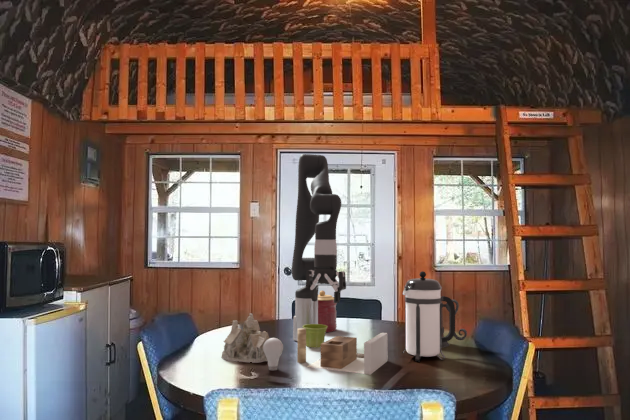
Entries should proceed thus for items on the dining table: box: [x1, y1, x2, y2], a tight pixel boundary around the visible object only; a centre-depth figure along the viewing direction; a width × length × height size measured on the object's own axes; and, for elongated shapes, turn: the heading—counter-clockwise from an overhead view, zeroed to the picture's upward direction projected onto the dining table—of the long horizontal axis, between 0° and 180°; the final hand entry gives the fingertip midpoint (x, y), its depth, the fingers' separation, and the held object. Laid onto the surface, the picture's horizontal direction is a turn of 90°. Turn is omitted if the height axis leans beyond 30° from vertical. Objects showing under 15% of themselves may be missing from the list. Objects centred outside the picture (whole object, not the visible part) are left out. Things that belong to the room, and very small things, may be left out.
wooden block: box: [357, 352, 364, 358], centre depth 174 cm, size 10×3×3 cm
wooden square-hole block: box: [320, 335, 358, 369], centre depth 167 cm, size 7×14×7 cm, turn 156°
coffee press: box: [401, 270, 456, 363], centre depth 182 cm, size 17×16×30 cm
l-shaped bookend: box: [306, 332, 389, 375], centre depth 166 cm, size 21×18×10 cm
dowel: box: [296, 328, 307, 364], centre depth 168 cm, size 3×3×12 cm
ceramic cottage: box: [221, 312, 270, 364], centre depth 179 cm, size 16×16×15 cm
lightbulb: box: [263, 337, 284, 371], centre depth 159 cm, size 6×6×11 cm
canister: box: [318, 290, 338, 333], centre depth 232 cm, size 13×13×18 cm
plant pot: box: [303, 324, 328, 349], centre depth 192 cm, size 9×9×9 cm
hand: (325, 302), depth 172 cm, fingers open, 8 cm apart
